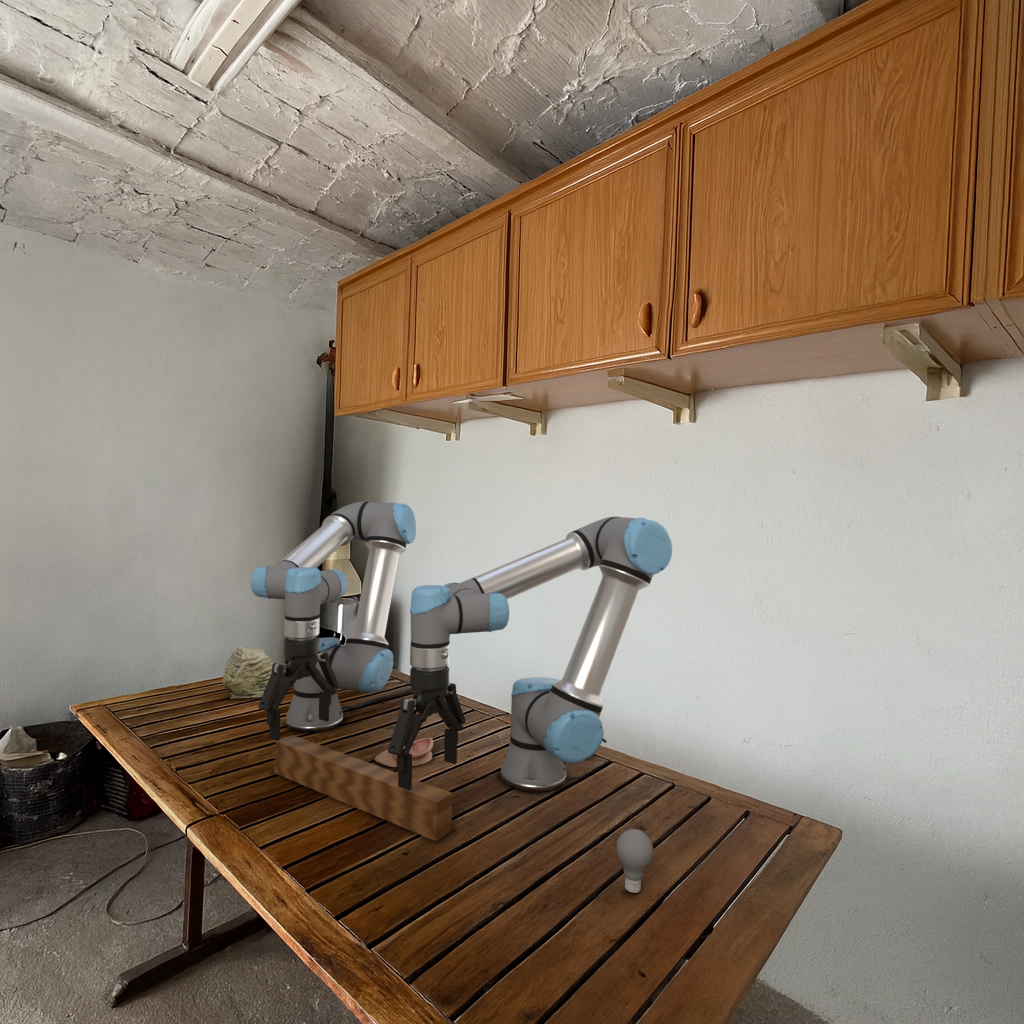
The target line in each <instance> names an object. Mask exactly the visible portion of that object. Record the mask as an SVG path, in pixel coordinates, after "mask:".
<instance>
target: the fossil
mask: <svg viewBox="0 0 1024 1024" xmlns="http://www.w3.org/2000/svg"><path fill="white" fill-rule="evenodd" d="M274 663H275V662H274V660H273V659H272V658H271V657H270V656H269V655H268V654H267V653H266V652H265V650H264V649H263V648H260V647H258V648H251V647H247V646H246V647H245V646H238V647H237V648H236V649H235V650H233V651H232V653H231V656H230V657H229V659H228V660H227V663H226V666H225V668H224V671H223V675H222V676H223V677H222V685H223V687H224V688H225V690H226V691H228V693H229V698H230V699H250V698H262V696H263V693H264V691H265V688H266V686H267V683H268V681H269V678H270V676H271V673H272V665H273V664H274Z"/></svg>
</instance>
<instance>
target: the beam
mask: <svg viewBox="0 0 1024 1024" xmlns="http://www.w3.org/2000/svg"><path fill="white" fill-rule="evenodd" d="M274 741H275V745H274V749H275V750H274V768H273V769H274V770H273V771H274V772H273V773H274V774H276V775H277V776H280V777H283V778H285V779H287V780H290V781H292V782H294V783H296V784H299V785H301V786H304V787H306V788H309V789H311V790H314V791H315V792H318V793H321V794H322V795H326V796H327V797H330V798H332V799H334V800H336V801H339V802H342V803H344V804H346V805H349V806H351V807H353V808H356V809H358V810H360V811H363V812H365V813H368V814H370V815H373V816H375V817H376V818H380V819H382V820H384V821H387V822H388V823H392V824H393V825H396V826H398V827H400V828H403V829H405V830H408V831H410V832H413V833H415V834H417V835H420V836H422V837H424V838H427V839H430V840H432V841H434V842H437V841H439V840H440V839H441V838H444V836H446V835H447V834H450V832H452V823H453V821H452V819H453V797H454V794H453V792H450V791H448V790H446V789H442V788H440V787H437V786H434V785H432V784H428V783H426V782H423V781H420V780H418V779H414V778H412V789H411V790H406V789H403V788H400V787H398V772H397V771H396V772H395V771H393V770H390V769H388V768H384V767H381V766H379V765H376V764H374V763H371V762H368V761H365V760H363V759H360V758H357V757H354V756H351V755H350V754H349V755H348V754H346V753H343V752H341V751H337V750H335V749H332V748H329V747H327V746H325V745H324V746H323V745H321V744H318V743H315V742H312V741H311V740H308V739H305V738H302V737H299V736H296V735H293V734H291V735H288V736H286V737H283V738H280V740H278V741H276V740H274Z"/></svg>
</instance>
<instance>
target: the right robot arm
mask: <svg viewBox="0 0 1024 1024" xmlns="http://www.w3.org/2000/svg"><path fill="white" fill-rule="evenodd" d="M672 555H673V543H672V539H671V538H670V535H669V532H668V530H667V529H666V528H665V527H664V526H663V524H661V523H659V522H658V521H656V520H653V519H648V518H644V517H625V516H624V517H623V516H608V517H605V518H604V517H603V518H601V519H599V520H596V521H593V522H591V523H589V524H586V525H584V526H582V527H579V528H577V529H574V530H572V531H570V532H568V533H567V534H566V537H565V539H562V540H560V541H558V542H555V543H553V544H550V545H548V546H545V547H543V548H541V549H538V550H535V551H533V552H530V553H529V554H526V555H524V556H521V557H519V558H517V559H515V560H512V561H509V562H507V563H504V564H502V565H500V566H497V567H496V568H493V569H490V570H487V571H486V572H483V573H481V574H478V575H476V576H474V577H472V578H469V579H466V580H464V581H461V582H460V583H459V582H448V583H445V584H443V585H442V584H441V585H440V584H436V585H433V584H425V585H418V586H416V587H414V588H413V589H412V591H411V597H410V608H409V614H410V644H409V651H410V652H409V665H410V666H411V668H410V669H409V686H410V687H411V688H412V689H413V691H412V692H413V694H412V698H406V697H405V698H404V697H403V698H401V700H400V707H399V713H398V716H397V720H396V723H395V726H394V729H393V732H392V735H391V739H390V742H389V745H388V748H387V750H388V753H390V754H394V755H397V767H396V773H398V787H400V788H403V789H406V790H411V789H412V779H413V766H412V754H409V752H410V750H411V747H412V745H413V743H414V741H416V738H417V736H418V734H419V733H420V730H421V728H422V725H423V723H425V722H426V721H427V719H428V718H429V717H431V716H432V715H434V714H438V716H439V717H440V719H441V721H443V723H444V724H445V726H446V727H447V728H445V729H444V739H443V742H444V744H443V746H444V747H443V750H444V751H443V761H444V762H446V763H450V764H453V765H456V764H458V744H459V731H460V732H462V731H463V730H464V725H465V723H466V717H465V715H464V711H463V708H462V705H461V703H460V700H459V697H458V693H457V685H456V683H452V682H450V667H449V666H448V665H449V664H450V642H451V641H450V638H451V635H459V634H472V633H473V634H475V633H487V632H488V633H492V632H496V631H497V632H498V631H502V630H504V629H505V628H506V627H507V626H508V624H509V620H510V607H509V606H510V605H509V601H508V600H510V599H512V598H514V597H516V596H519V595H521V594H524V593H526V592H528V591H531V590H533V589H535V588H537V587H539V586H542V585H544V584H546V583H548V582H551V581H553V580H555V579H558V578H560V577H562V576H565V575H567V574H569V573H572V572H574V571H576V570H578V569H579V570H581V571H587V570H589V569H593V568H595V567H598V568H599V570H600V573H601V580H600V582H599V585H598V587H597V589H596V590H597V591H596V592H595V595H594V598H593V600H592V603H591V604H590V608H589V610H588V613H587V615H586V618H585V620H584V623H583V626H582V628H581V630H580V633H579V636H578V638H577V640H576V643H575V646H574V649H573V651H572V653H571V656H570V659H569V660H568V664H567V666H566V669H565V671H564V674H563V677H562V678H561V679H558V678H554V677H544V676H537V677H536V676H535V677H534V676H532V677H531V676H530V677H524V678H519V679H517V680H515V681H514V682H513V684H512V691H511V694H510V695H511V706H510V707H511V710H510V735H509V745H508V748H507V751H506V753H505V755H504V758H503V759H504V760H503V761H502V764H501V766H500V778H501V780H502V782H503V783H504V784H506V785H507V786H509V787H511V788H513V789H516V790H519V791H523V792H529V793H532V792H533V793H545V792H551V791H555V790H557V789H560V788H561V787H563V786H564V785H565V784H566V782H567V768H566V765H565V763H567V764H580V763H583V762H584V761H585V760H588V759H590V758H591V757H592V756H593V755H595V754H596V752H598V750H599V748H600V747H601V744H602V742H603V743H605V744H606V743H608V741H607V740H606V739H605V738H604V731H605V730H604V727H603V722H602V720H601V718H600V716H601V713H602V711H603V709H604V702H603V700H602V698H601V693H602V691H603V688H604V685H605V683H606V680H607V677H608V674H609V673H610V670H611V667H612V664H613V661H614V658H615V656H616V654H617V651H618V649H619V646H620V643H621V641H622V638H623V634H624V633H625V630H626V628H627V626H628V622H629V619H630V617H631V615H632V612H633V609H634V607H635V604H636V601H637V599H638V596H639V593H640V592H641V591H642V590H644V589H646V588H648V587H650V584H651V582H652V580H653V577H654V576H655V575H657V574H660V573H661V572H663V571H664V570H665V569H666V568H667V567H668V566H669V564H670V562H671V559H672ZM404 746H405V748H404Z"/></svg>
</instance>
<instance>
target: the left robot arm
mask: <svg viewBox="0 0 1024 1024" xmlns="http://www.w3.org/2000/svg"><path fill="white" fill-rule="evenodd" d="M416 534H417V523H416V517H415V513H414V511H413V508H412V507H411V506H410V505H408V504H406V503H399V502H380V501H357V502H352V503H350V504H347V505H344V506H342V507H340V508H338V509H336V510H335V511H333V512H332V513H330V514H329V515H328V516H327V517H326V518H324V519H323V521H322V524H321V526H320V527H319V528H318V529H317V530H316V531H314V532H313V533H312V534H311V535H309V536H308V537H307V538H306V539H305V540H304V541H302V542H301V543H300V544H299V545H297V546H296V547H295V548H294V549H293V550H292V551H290V552H289V553H288V554H287V555H285V557H283V558H282V559H280V561H278V562H277V563H276V564H275V565H273V566H268V565H266V566H260V567H258V568H256V569H255V570H254V571H253V573H252V575H251V578H250V587H251V591H252V593H253V595H254V596H256V597H259V598H264V599H269V600H272V599H274V600H284V624H283V625H284V626H283V636H285V637H284V639H283V643H284V644H283V654H284V657H285V659H284V662H282V663H277V662H274V664H273V665H272V673H271V676H270V678H269V681H268V683H267V686H266V688H265V691H264V693H263V696H262V697H260V700H259V703H258V709H259V710H263V711H265V712H266V725H268V738H269V739H271V740H274V741H278V740H280V739H281V710H280V709H279V707H280V705H281V704H282V702H283V700H284V699H285V697H286V695H287V694H288V692H289V690H290V689H291V687H292V686H293V695H292V696H293V697H292V699H291V702H290V704H289V708H288V711H287V713H286V715H285V726H286V728H287V729H289V730H291V731H294V732H295V731H296V732H301V733H316V732H325V731H329V730H332V729H335V728H337V727H339V726H340V725H342V723H343V722H344V714H343V710H353V709H354V710H355V709H359V708H362V707H364V706H367V705H369V704H371V703H374V702H379V701H383V700H388V699H390V698H391V699H392V698H395V697H399V696H402V695H405V694H409V693H411V692H414V691H413V689H412V687H411V688H409V689H408V688H407V689H406V690H402V691H399V692H396V693H391V694H386V695H383V696H379V697H373V698H371V699H367V700H366V701H364V702H361V703H358V704H353V705H341V702H340V699H339V695H338V690H344V691H345V690H347V691H354V692H359V693H377V692H380V691H381V690H382V689H383V688H384V687H385V685H387V684H388V681H389V680H390V677H391V675H392V671H393V668H394V654H393V651H392V650H390V649H389V642H388V641H387V639H386V637H385V635H386V632H387V631H386V630H387V625H388V620H389V613H390V608H391V602H392V597H393V591H394V587H395V581H396V575H397V571H398V563H399V558H400V555H402V554H403V553H405V552H406V549H407V545H410V544H412V543H413V542H414V541H415V539H416ZM355 541H364V542H365V546H366V547H367V549H368V552H369V553H368V557H367V562H366V567H365V572H364V577H363V581H362V586H361V587H362V589H361V592H360V596H359V597H360V598H359V602H358V607H357V612H356V618H355V623H354V627H353V632H352V633H351V634H350V635H348V636H347V637H346V638H345V639H346V640H345V644H343V645H342V644H340V643H341V641H340V639H339V638H338V637H334V636H333V637H319V635H320V624H321V623H320V621H321V620H320V618H321V614H320V613H321V606H322V605H325V604H328V603H331V602H336V601H337V600H338V599H340V598H342V597H343V596H344V595H345V594H346V592H347V591H348V586H349V584H348V579H347V577H346V575H345V574H344V573H343V572H342V571H341V570H339V569H336V568H335V569H333V568H332V569H329V568H328V569H324V570H320V569H319V568H318V567H320V566H321V564H323V563H324V562H325V561H326V560H328V558H329V557H330V556H332V554H334V553H335V551H337V550H338V549H339V548H340V547H343V546H344V547H345V546H346V545H348V544H349V543H351V542H355Z"/></svg>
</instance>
